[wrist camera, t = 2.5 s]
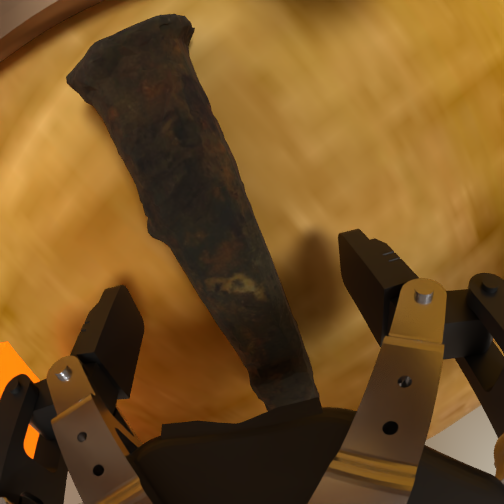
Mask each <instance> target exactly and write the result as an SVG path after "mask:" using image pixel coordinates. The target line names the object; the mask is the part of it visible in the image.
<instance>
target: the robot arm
mask: <svg viewBox="0 0 504 504" xmlns="http://www.w3.org/2000/svg"><path fill="white" fill-rule="evenodd" d="M338 243H339V255H340V268H341V275H342V279H343V282H344V285H345V287H346V288H347V290H348V292H349V294H350V295H351V297H352V299H353V300H354V302H355V304H356V305H357V307H358V309H359V311H360V312H361V314H362V316H363V317H364V319H365V321H366V323H367V324H368V326H369V328H370V330H371V331H372V333H373V335H374V337H375V339H376V340H377V342H378V344H379V346H380V347H381V349H380V352H379V355H378V358H377V361H376V364H375V366H374V369H373V372H372V375H371V377H370V380H369V383H368V385H367V388H366V390H365V393H364V396H363V398H362V401H361V403H360V405H359V408H358V410H357V411H353V410H349V409H343V408H331V407H326V408H322V407H321V404H320V400H319V397H317V398H313V399H309V400H305V401H301V402H297V403H293V404H289V405H284V406H280V407H277V408H275V409H273V410H270V411H268V412H266V413H263V414H261V415H259V416H256V417H254V418H252V419H249V420H247V421H244V422H242V423H237V424H231V423H217V422H206V421H191V422H182V423H171V424H162V431H161V436H158V437H156V438H154V439H151V440H149V441H148V442H146V443H144V444H142V442H141V441H140V439H139V438H138V437H137V435H136V434H135V432H134V431H133V429H132V428H131V426H130V425H129V423H128V422H127V420H126V419H125V417H124V415H123V414H122V412H121V411H120V409H119V408H118V407H117V406H116V402H117V399H129V398H130V393H131V388H132V383H133V379H134V374H135V369H136V365H137V360H138V356H139V351H140V347H141V343H142V338H143V334H144V322H143V319H142V316H141V314H140V312H139V310H138V309H137V307H136V305H135V303H134V301H133V299H132V297H131V295H130V293H129V291H128V289H127V288H126V286H124V285H120V286H116V287H112V288H107V289H105V290H104V292H103V294H102V296H101V299H100V301H99V303H98V304H97V305H96V306H95V307H94V308H93V309H92V310H91V311H90V312H89V314H88V316H87V318H86V320H85V324H84V325H83V327H82V329H81V332H80V334H79V336H78V338H77V340H76V343H75V345H74V347H73V350H72V352H71V354H70V356H66V357H63V358H61V359H59V360H58V361H56V362H55V363H54V364H53V365H52V366H51V368H50V369H49V371H48V374H47V379H44V380H42V381H39V382H37V383H34V382H33V381H32V380H31V379H30V378H29V377H28V376H27V375H26V374H19V375H17V376H15V377H14V378H12V379H11V380H10V381H9V382H8V384H7V385H6V387H5V389H4V391H3V394H2V396H1V398H0V504H63V503H64V494H65V487H66V479H67V472H68V470H69V473H70V475H71V477H72V480H73V482H74V484H75V486H76V488H77V490H78V493H79V495H80V497H81V499H82V501H83V503H84V504H504V356H503V355H502V353H501V352H500V351H499V349H498V348H497V346H496V345H495V344H494V342H493V341H492V340H493V338H494V339H495V341H496V342H497V344H498V345H499V346H500V348H501V349H502V351H503V353H504V280H503V279H501V278H500V277H498V276H496V275H493V274H489V273H480V274H477V275H475V276H473V277H472V278H471V279H470V282H469V286H468V289H466V290H455V291H446V290H445V289H444V287H443V286H442V285H441V284H440V283H438V282H436V281H434V280H431V279H425V278H418V276H417V275H416V274H415V273H414V272H413V271H412V270H411V269H410V268H409V267H408V266H407V265H406V264H405V262H404V261H403V260H402V259H400V257H399V256H398V255H397V254H396V253H394V251H393V250H392V249H391V248H390V247H389V246H388V245H387V244H386V243H384V242H382V241H379V240H377V239H371V240H369V239H368V238H367V237H366V235H365V234H364V233H363V232H362V231H361V230H360V229H355V230H351V231H347V232H343V233H339V235H338ZM451 358H455V359H456V361H457V363H458V364H459V366H460V368H461V369H462V371H463V373H464V375H465V376H466V378H467V380H468V381H469V383H470V385H471V387H472V389H473V390H474V392H475V394H476V396H477V398H478V399H479V401H480V403H481V405H482V407H483V409H484V411H485V412H486V414H487V416H488V418H489V420H490V422H491V424H492V426H493V428H494V430H495V432H496V434H497V436H498V440H497V442H496V445H495V448H494V459H495V463H494V465H495V468H496V475H495V476H493V475H491V474H489V473H486V472H484V471H481V470H479V469H477V468H474V467H472V466H470V465H467V464H465V463H463V462H460V461H458V460H456V459H454V458H451V457H449V456H447V455H445V454H443V453H441V452H438V451H436V450H434V449H432V448H430V447H428V446H426V445H425V441H426V437H427V434H428V430H429V426H430V422H431V418H432V414H433V409H434V405H435V400H436V395H437V390H438V385H439V380H440V374H441V368H442V361H443V359H451ZM29 425H30V426H31V427H33V428H34V429H35V430H36V431H37V432H38V433H39V437H38V441H37V445H36V449H35V453H34V457H33V459H32V458H31V457H29V456H28V455H27V453H26V452H25V449H24V440H25V436H26V433H27V429H28V426H29Z"/></svg>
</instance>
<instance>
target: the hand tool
mask: <svg viewBox="0 0 504 504" xmlns="http://www.w3.org/2000/svg"><path fill="white" fill-rule="evenodd" d="M194 29H195V28H192V25H191V22H190V21H189V20H188V19H187V18H186V17H185V16H180V15H176V14H168V15H159V16H155V17H153V18H150V19H147V20H145V21H143V22H140V23H138V24H135V25H133V26H131V27H128V28H126V29H124V30H122V31H120V32H118V33H116V34H114V35H112V36H109V37H106V38H104V39H101V40H99V41H97V42H95V43H94V44H93V45H92V46H91V47H90V48H89V50H88V51H87V53H86V54H85V56H84V57H83V59H82V60H81V61H80V62H79V63H78V64H77V65H76V67H75V68H74V69H73V70H72V71H71V72H70V73H69V74H68V75H67V77H66V80H67V84H68V85H69V86H70V87H71V88H72V89H74V90H75V91H76V92H77V93H79V94H80V96H81V97H82V98H83V99H84V101H85V102H86V103H88V104H90V105H92V106H93V107H94V108H95V109H96V111H97V112H98V114H99V115H100V116H101V118H102V119H103V121H104V123H105V125H106V127H107V129H108V131H109V133H110V135H111V138H112V139H113V141H114V143H115V145H116V147H117V150H118V153H119V155H120V156H121V158H122V159H123V161H124V163H125V165H126V167H127V169H128V171H129V172H130V174H131V176H132V178H133V180H134V182H135V184H136V187H137V190H138V193H139V197H140V201H141V203H142V204H143V208H144V211H145V215H146V216H147V217H148V221H147V229H148V233H149V234H150V235H151V236H152V237H153V238H155V239H158V240H160V241H162V242H164V243H166V244H167V245H168V246H169V247H170V248H171V250H172V251H173V253H174V255H175V257H176V259H177V260H178V262H179V263H180V265H181V266H182V268H183V270H184V271H185V273H186V275H187V276H188V278H189V280H190V281H191V283H192V285H193V287H194V288H195V290H196V292H197V293H198V295H199V297H200V298H201V300H202V301H203V303H204V304H205V306H206V307H207V309H208V310H209V312H210V313H211V315H212V317H213V318H214V320H215V322H216V323H217V325H218V326H219V328H220V329H221V330H222V332H223V333H224V335H225V336H226V338H227V339H228V340H229V342H230V343H231V345H232V346H233V348H234V349H235V351H236V352H237V354H238V355H239V357H240V358H241V360H242V362H243V364H244V366H245V367H246V368H247V369H248V372H249V377H250V385H251V387H252V389H253V391H254V392H255V393H256V394H257V396H258V398H259V399H261V400H262V401H263V402H264V403H265V406H266V408H267V410H268V411H270V410H273V409H275V408H277V407H280V406H284V405H289V404H293V403H297V402H301V401H305V400H309V399H313V398H317V397H319V393H318V391H317V388H316V386H315V383H314V379H313V371H312V367H311V363H310V360H309V357H308V354H307V352H306V350H305V347H304V344H303V341H302V338H301V335H300V332H299V329H298V326H297V323H296V321H295V319H294V318H293V315H292V313H291V310H290V307H289V304H288V302H287V299H286V296H285V293H284V290H283V288H282V285H281V282H280V280H279V277H278V275H277V272H276V269H275V266H274V264H273V261H272V258H271V256H270V253H269V251H268V248H267V246H266V243H265V241H264V238H263V236H262V233H261V231H260V229H259V226H258V224H257V221H256V219H255V216H254V214H253V210H252V207H251V204H250V202H249V200H248V198H247V195H246V193H245V189H244V184H243V182H242V181H241V178H240V175H239V171H238V168H237V164H236V162H235V159H234V157H233V155H232V152H231V150H230V148H229V146H228V144H227V142H226V141H225V138H224V135H223V132H222V130H221V128H220V126H219V123H218V121H217V119H216V118H215V116H214V115H213V113H212V111H211V105H210V103H209V100H208V98H207V96H206V94H205V92H204V90H203V88H202V86H201V84H200V83H199V80H198V78H197V75H196V73H195V70H194V68H193V65H192V63H191V60H190V57H189V48H188V44H189V42H190V40H191V37H192V35H193V33H194Z"/></svg>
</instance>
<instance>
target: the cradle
mask: <svg viewBox="0 0 504 504" xmlns="http://www.w3.org/2000/svg"><path fill="white" fill-rule="evenodd" d="M101 1H104V0H0V62H1V61H2V60H4V59H5V58H6V57H8V56H9V55H11V54H12V53H13V52H15V51H16V50H17V49H19V48H20V47H22V46H23V45H25V44H26V43H28V42H29V41H31V40H32V39H34V38H35V37H37V36H38V35H40V34H42V33H43V32H45V31H46V30H48V29H50V28H51V27H53V26H55V25H57V24H58V23H60V22H62V21H64V20H65V19H67V18H69V17H71V16H73V15H75V14H77V13H79V12H81V11H83V10H85V9H87V8H89V7H91V6H93V5H95V4H97V3H99V2H101Z"/></svg>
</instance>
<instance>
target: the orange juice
mask: <svg viewBox="0 0 504 504" xmlns="http://www.w3.org/2000/svg"><path fill="white" fill-rule="evenodd" d="M19 374H26V375H27V376H28V377H29V378H30V379H31V380H32V381H33V382H34V383H37V382H39V381H40V380H39V379H38V378H37V377H36V376H35V375H34V373H33V372H32V371H31V370H30V369H29V368H28V366H27V365H26V364H25V363H24V362H23V360H22V359H21V358H20V357H19V355H18V354H17V353H16V352H15V350H14V349H13V348H12V347H11V345H10V344H9V343H8V342H3V343H0V398H1V396H2V394H3V391H4V389H5V387H6V385H7V384H8V382H9V381H10V380H11V379H12V378H14V377H15V376H17V375H19ZM38 437H39V433H38V432H37V431H36V430H35V429H34V428H33V427H31V426H30V425H29V426H28V429H27V433H26V436H25V440H24V449H25V452H26V453H27V455H28V456H29V457H31V458H32V459H33V457H34V453H35V449H36V445H37V441H38Z"/></svg>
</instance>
